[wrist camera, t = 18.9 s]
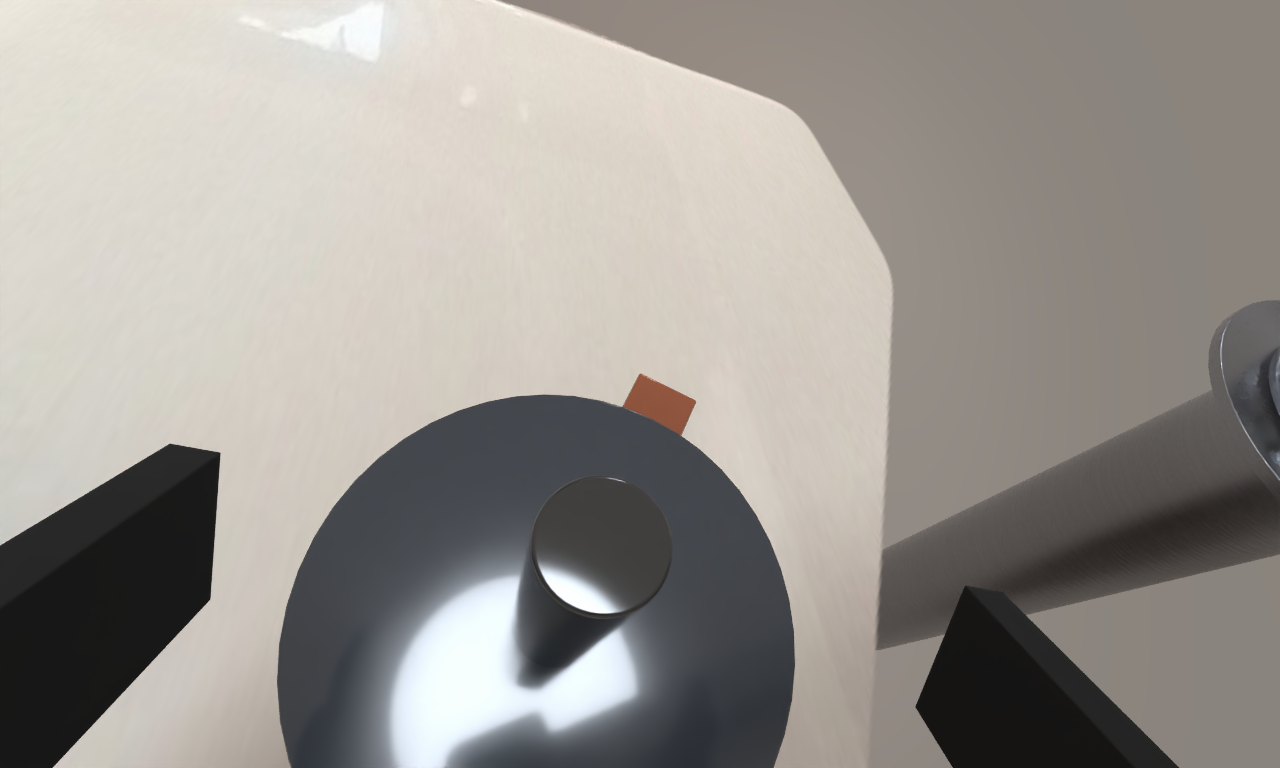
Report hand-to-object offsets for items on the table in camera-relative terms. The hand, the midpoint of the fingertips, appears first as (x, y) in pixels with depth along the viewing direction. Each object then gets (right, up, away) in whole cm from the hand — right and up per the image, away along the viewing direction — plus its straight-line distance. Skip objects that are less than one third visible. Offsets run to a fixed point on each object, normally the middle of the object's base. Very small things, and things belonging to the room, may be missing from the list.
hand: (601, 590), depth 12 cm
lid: (-2, -3, +8) cm, 9 cm away
